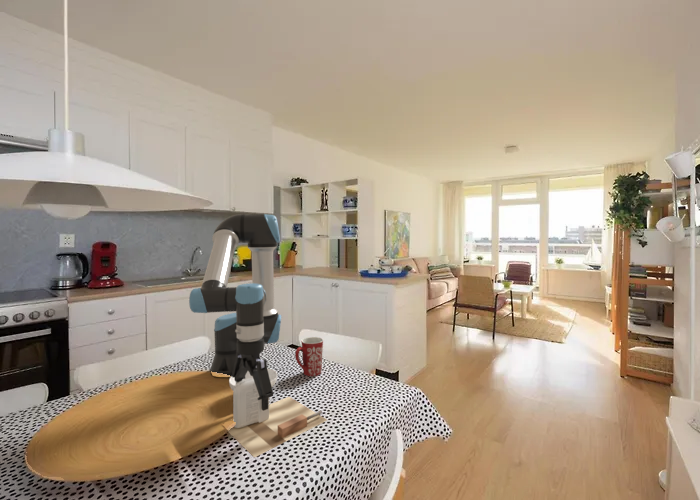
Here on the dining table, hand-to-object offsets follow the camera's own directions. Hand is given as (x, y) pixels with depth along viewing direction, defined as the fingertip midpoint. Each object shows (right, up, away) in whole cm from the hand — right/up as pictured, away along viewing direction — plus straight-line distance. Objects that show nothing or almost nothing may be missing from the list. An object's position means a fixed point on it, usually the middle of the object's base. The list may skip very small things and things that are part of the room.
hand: (251, 411), depth 93 cm
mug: (+12, -4, +37) cm, 39 cm away
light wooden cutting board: (+7, -5, 0) cm, 8 cm away
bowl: (-5, -4, +18) cm, 19 cm away
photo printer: (0, -3, 0) cm, 3 cm away
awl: (+15, -3, -2) cm, 15 cm away
